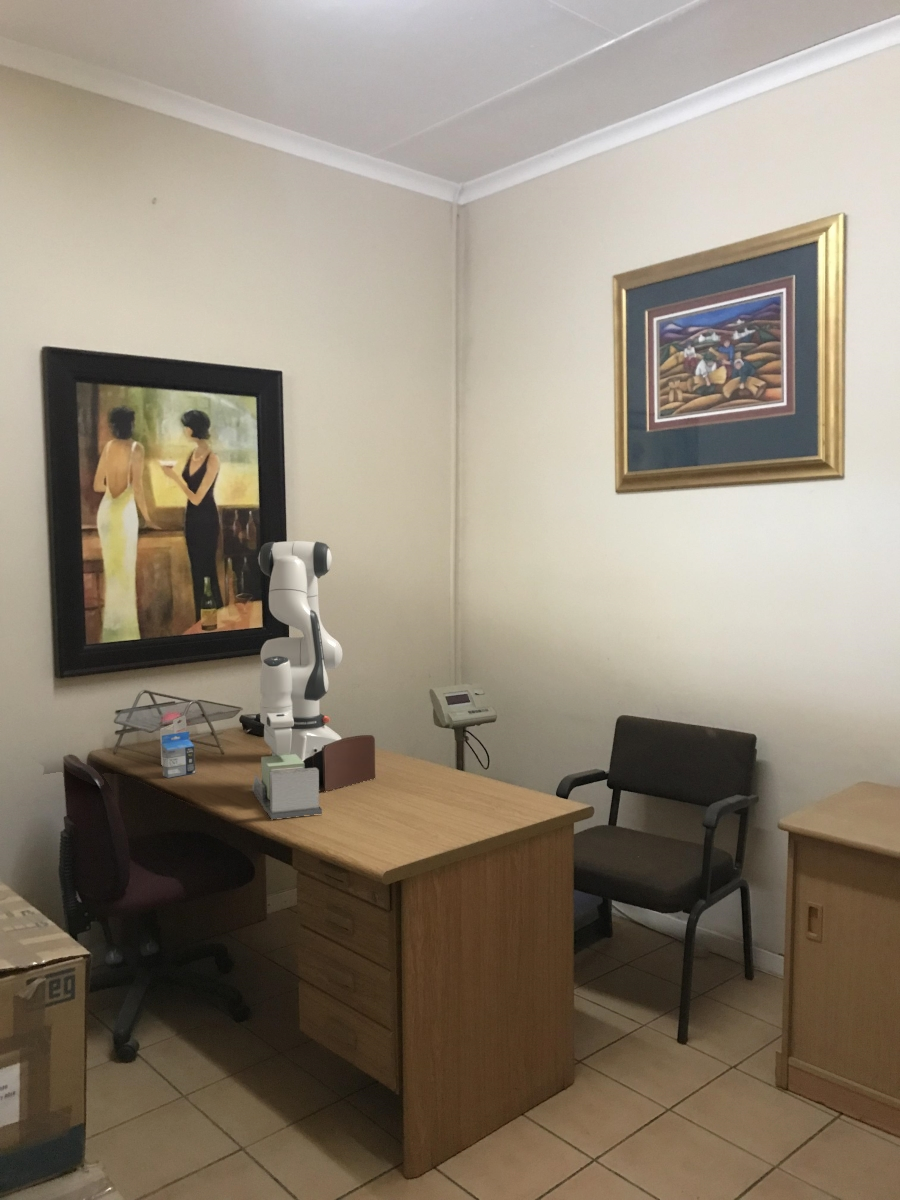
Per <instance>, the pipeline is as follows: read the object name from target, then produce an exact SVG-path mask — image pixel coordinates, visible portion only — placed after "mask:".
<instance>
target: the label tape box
mask: <svg viewBox="0 0 900 1200" xmlns="http://www.w3.org/2000/svg"><path fill="white" fill-rule="evenodd" d="M175 736H177V737H180V738H179V739H173V740H171V738H174V737H175ZM195 752H196V751H195V745H194V744H193V742H192V741H191V740H190V731H188V730H187V732H182V733H175V734H169V735H162V766H161V767H162V776H163V777H165V778H168V779H169V778H170V779H171V778H174V777H175V778H176V777H179V776H186V775H192V774H195V773H196V755H195Z"/></svg>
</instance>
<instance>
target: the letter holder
mask: <svg viewBox="0 0 900 1200" xmlns="http://www.w3.org/2000/svg"><path fill="white" fill-rule="evenodd" d="M303 762H304V763H305V768H317V769H318V770H319V790H320V791H319V792H322V791H323V793H327V792H326V791H328V792H331V791H334V790H333V789H335V790H338V789H337V788H339V789H341V788H340V787H342V788H345V787H344V786H346V787H349V786H348V785H350V786H353V785H352V784H354V785H357V784H356V783H358V784H360V782H361V783H364V782H363V781H365V782H368V781H367V780H369V781H371V780H370V779H372V780H375V779H376V740H375V736H374V735H373V734H361V735H354V736H348V737H344V738H342V739H340V740H337V741H335V742H332V743H329V744H327V745H325V746H324V747H323V750H321V751H318V752H316V753H315V754H314V755H313V756H310V757H308V758H306V759H305V760H304V761H303ZM374 778H375V779H374ZM330 790H331V791H330ZM324 791H325V792H324Z"/></svg>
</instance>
